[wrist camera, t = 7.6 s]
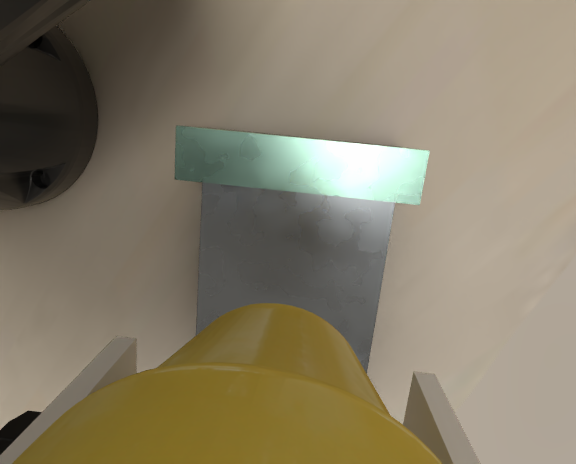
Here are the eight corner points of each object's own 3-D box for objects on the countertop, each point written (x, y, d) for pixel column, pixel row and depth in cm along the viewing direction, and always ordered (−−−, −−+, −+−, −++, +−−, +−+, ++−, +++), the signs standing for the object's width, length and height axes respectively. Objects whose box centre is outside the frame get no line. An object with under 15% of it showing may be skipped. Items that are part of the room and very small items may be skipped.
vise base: (197, 404, 35) (167, 475, 28) (210, 127, 29) (176, 125, 22) (354, 424, 34) (365, 501, 27) (399, 146, 28) (429, 150, 21)
